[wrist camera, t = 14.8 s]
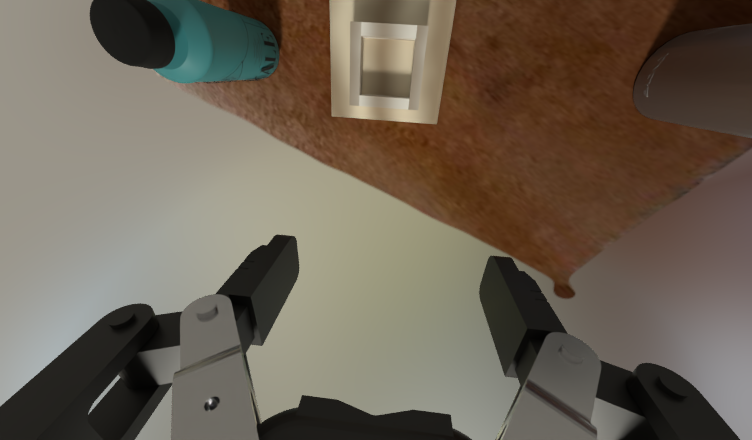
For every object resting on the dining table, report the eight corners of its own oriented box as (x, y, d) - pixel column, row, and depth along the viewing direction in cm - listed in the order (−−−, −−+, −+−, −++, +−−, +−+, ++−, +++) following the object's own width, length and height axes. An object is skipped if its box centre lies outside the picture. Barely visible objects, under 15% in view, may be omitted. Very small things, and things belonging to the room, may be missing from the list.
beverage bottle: (226, 27, 34) (34, -20, 16) (275, 12, 32) (125, -58, 15) (249, 85, 36) (107, 99, 19) (294, 73, 35) (189, 75, 18)
